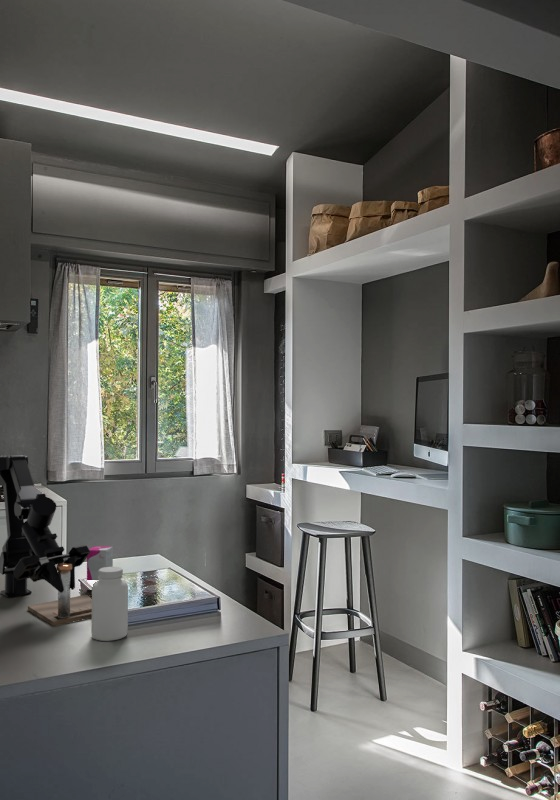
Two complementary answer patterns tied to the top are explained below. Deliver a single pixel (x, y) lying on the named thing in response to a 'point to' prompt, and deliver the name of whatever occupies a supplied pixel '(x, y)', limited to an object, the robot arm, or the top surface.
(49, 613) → the brown wooden flat board
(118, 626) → the pill bottle
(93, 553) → the supplement box
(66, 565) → the capped cylinder
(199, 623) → the top surface
